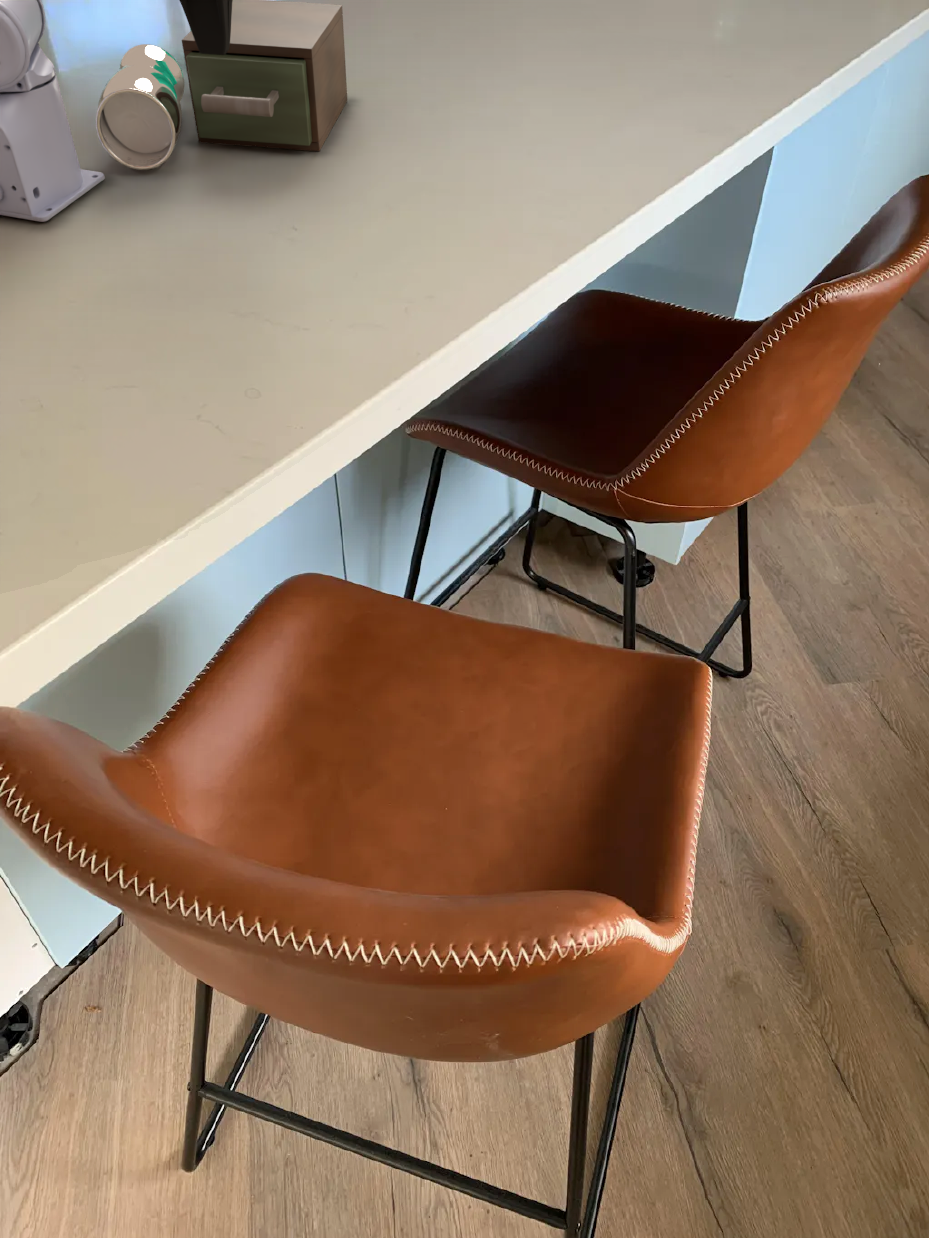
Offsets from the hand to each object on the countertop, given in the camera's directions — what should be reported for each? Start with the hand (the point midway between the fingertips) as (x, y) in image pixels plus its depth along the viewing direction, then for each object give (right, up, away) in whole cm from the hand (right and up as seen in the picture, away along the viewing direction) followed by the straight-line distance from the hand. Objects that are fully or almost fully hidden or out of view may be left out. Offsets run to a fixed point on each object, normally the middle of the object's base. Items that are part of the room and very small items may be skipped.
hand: (214, 51), depth 76 cm
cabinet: (+1, +4, +18) cm, 18 cm away
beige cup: (-10, +7, +16) cm, 21 cm away
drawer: (+1, +2, +15) cm, 15 cm away
